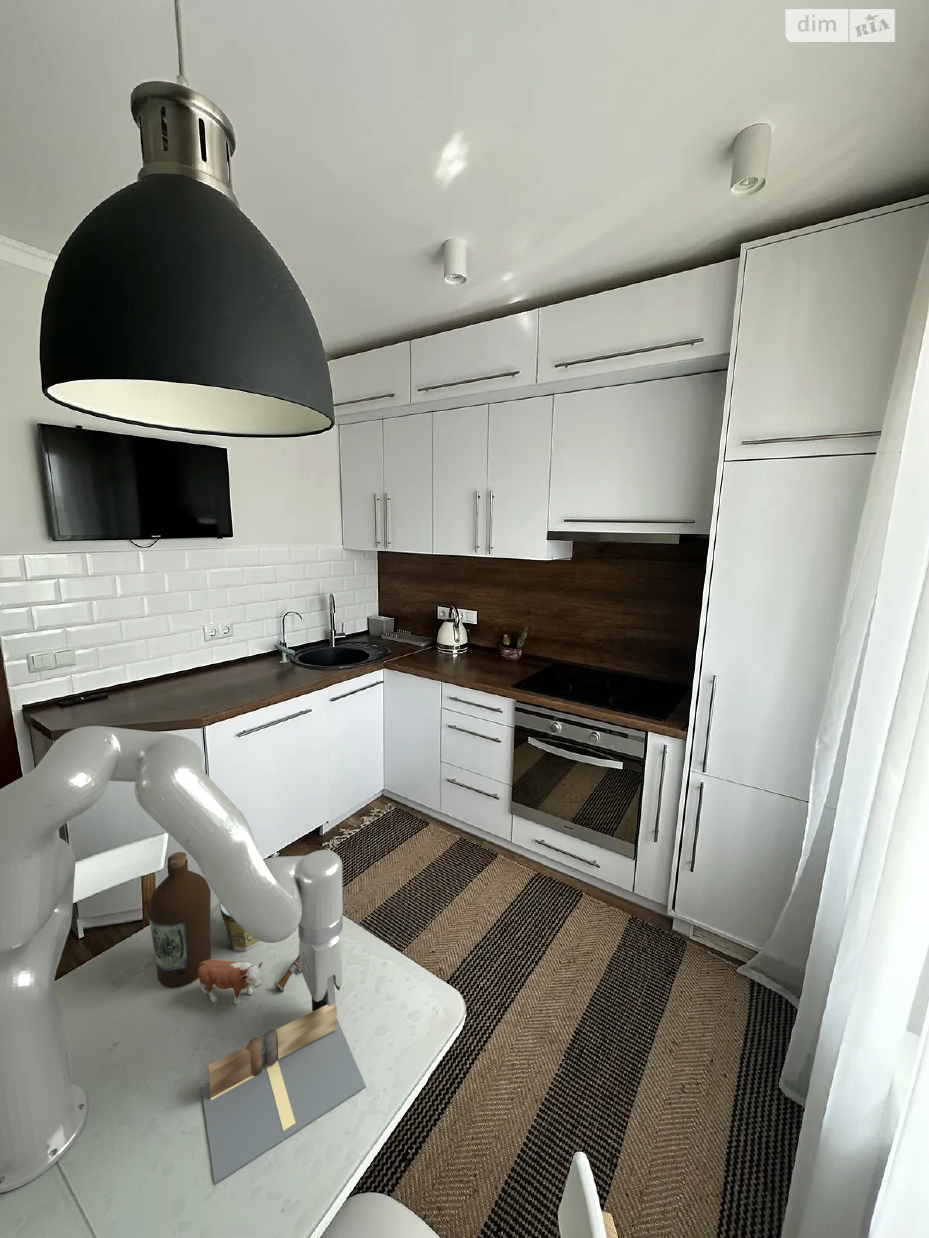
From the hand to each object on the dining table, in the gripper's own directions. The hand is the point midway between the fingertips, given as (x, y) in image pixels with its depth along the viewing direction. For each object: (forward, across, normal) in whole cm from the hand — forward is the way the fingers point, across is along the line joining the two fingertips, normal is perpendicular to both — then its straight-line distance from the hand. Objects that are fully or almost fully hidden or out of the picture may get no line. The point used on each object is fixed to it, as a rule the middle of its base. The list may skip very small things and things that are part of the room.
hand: (322, 1009), depth 90 cm
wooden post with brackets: (+3, -12, -2) cm, 12 cm away
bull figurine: (+2, -14, -13) cm, 19 cm away
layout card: (+2, +8, -9) cm, 12 cm away
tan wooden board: (+2, +3, -5) cm, 6 cm away
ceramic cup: (+2, -28, -6) cm, 28 cm away
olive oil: (+2, -26, -20) cm, 32 cm away
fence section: (+2, +2, -15) cm, 16 cm away
